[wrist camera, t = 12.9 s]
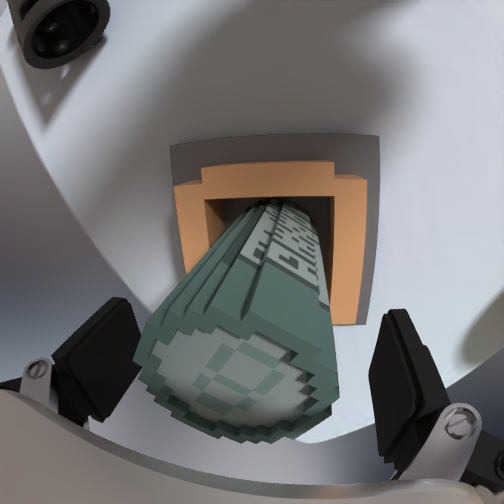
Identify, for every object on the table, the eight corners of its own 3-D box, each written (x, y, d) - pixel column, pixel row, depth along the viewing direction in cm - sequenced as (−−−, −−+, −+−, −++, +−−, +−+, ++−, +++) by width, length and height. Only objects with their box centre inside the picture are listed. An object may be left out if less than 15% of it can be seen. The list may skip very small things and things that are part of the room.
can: (224, 248, 22) (123, 387, 8) (262, 183, 20) (170, 263, 6) (288, 286, 22) (263, 456, 8) (331, 226, 20) (379, 377, 6)
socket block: (374, 136, 18) (396, 132, 13) (363, 317, 23) (373, 353, 19) (176, 145, 21) (143, 146, 16) (199, 313, 26) (179, 345, 22)
